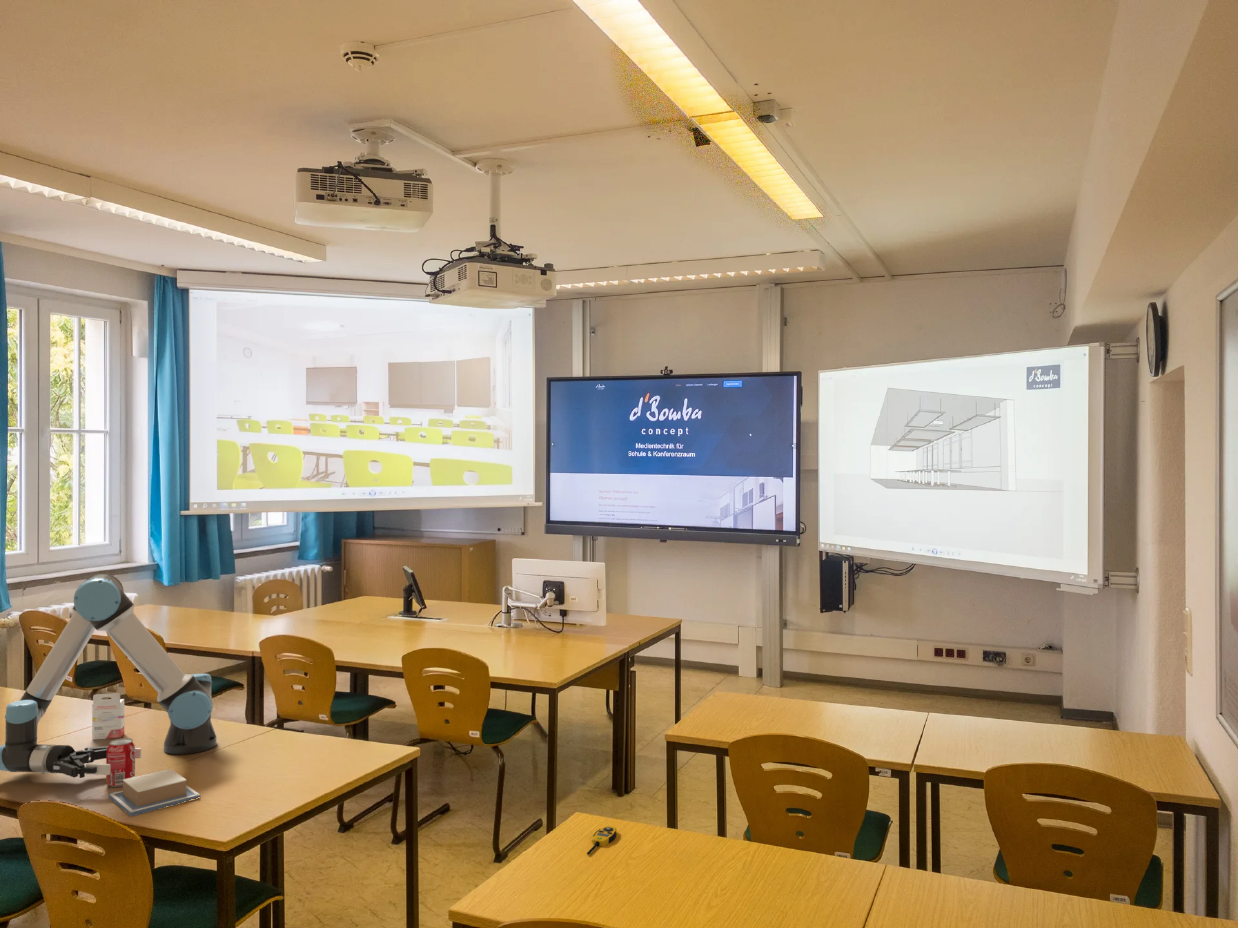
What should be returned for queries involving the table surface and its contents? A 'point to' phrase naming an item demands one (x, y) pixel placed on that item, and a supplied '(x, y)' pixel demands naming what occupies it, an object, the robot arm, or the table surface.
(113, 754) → the soda can
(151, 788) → the board
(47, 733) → the table surface
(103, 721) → the ink cartridge box
